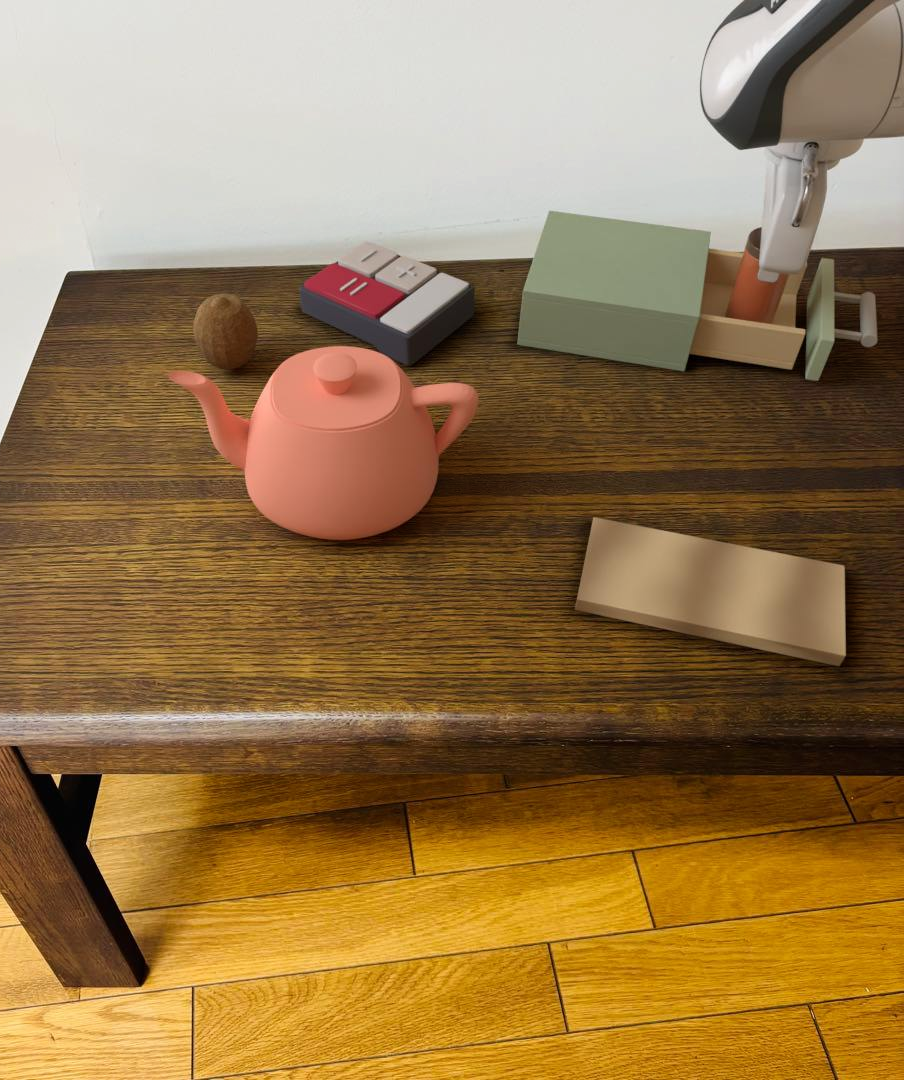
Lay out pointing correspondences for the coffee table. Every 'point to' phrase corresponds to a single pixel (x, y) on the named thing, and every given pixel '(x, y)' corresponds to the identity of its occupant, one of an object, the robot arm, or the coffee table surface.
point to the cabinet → (615, 290)
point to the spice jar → (754, 287)
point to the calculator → (388, 301)
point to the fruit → (225, 331)
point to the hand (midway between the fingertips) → (767, 259)
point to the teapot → (337, 441)
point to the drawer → (776, 320)
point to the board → (715, 590)
